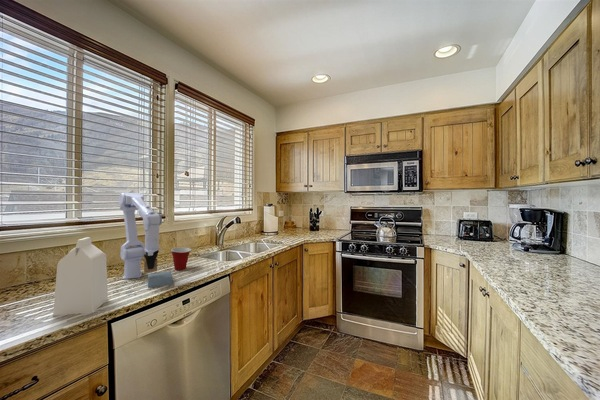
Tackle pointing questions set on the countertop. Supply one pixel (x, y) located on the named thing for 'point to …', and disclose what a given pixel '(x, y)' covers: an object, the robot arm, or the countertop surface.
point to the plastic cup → (180, 257)
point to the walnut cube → (150, 269)
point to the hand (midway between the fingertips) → (151, 267)
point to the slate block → (159, 279)
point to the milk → (81, 280)
